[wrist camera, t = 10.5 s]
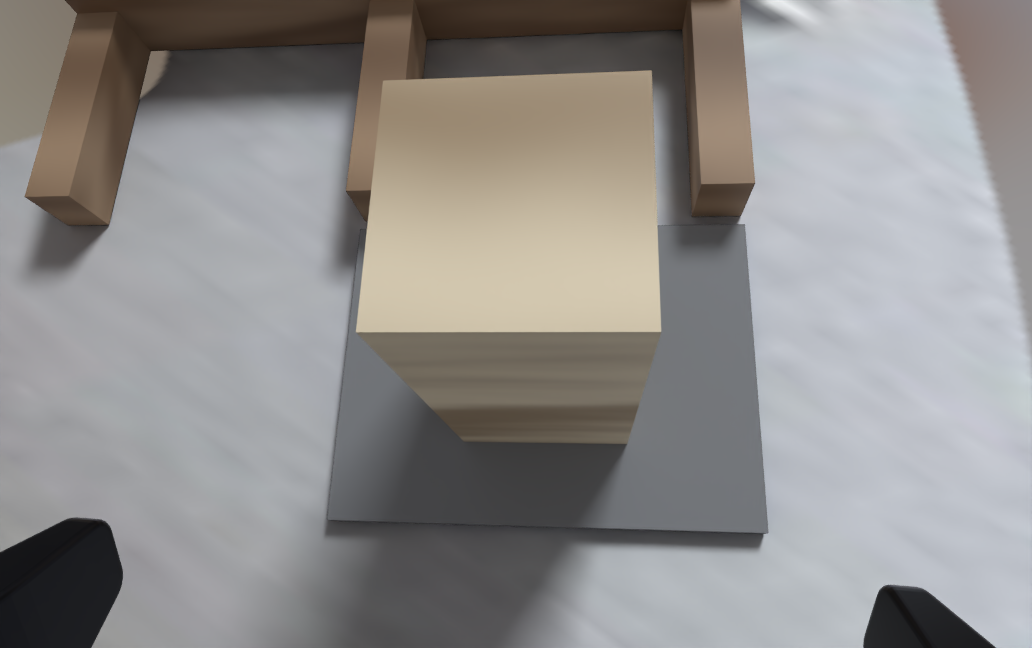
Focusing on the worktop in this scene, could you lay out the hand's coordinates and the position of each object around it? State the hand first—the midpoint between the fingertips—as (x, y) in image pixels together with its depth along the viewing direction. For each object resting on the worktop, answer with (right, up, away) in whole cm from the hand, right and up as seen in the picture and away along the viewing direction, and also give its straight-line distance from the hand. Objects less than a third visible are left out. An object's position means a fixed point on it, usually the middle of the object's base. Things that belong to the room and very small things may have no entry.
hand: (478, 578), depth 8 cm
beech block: (+1, +2, +12) cm, 13 cm away
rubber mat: (+1, +2, +13) cm, 13 cm away
